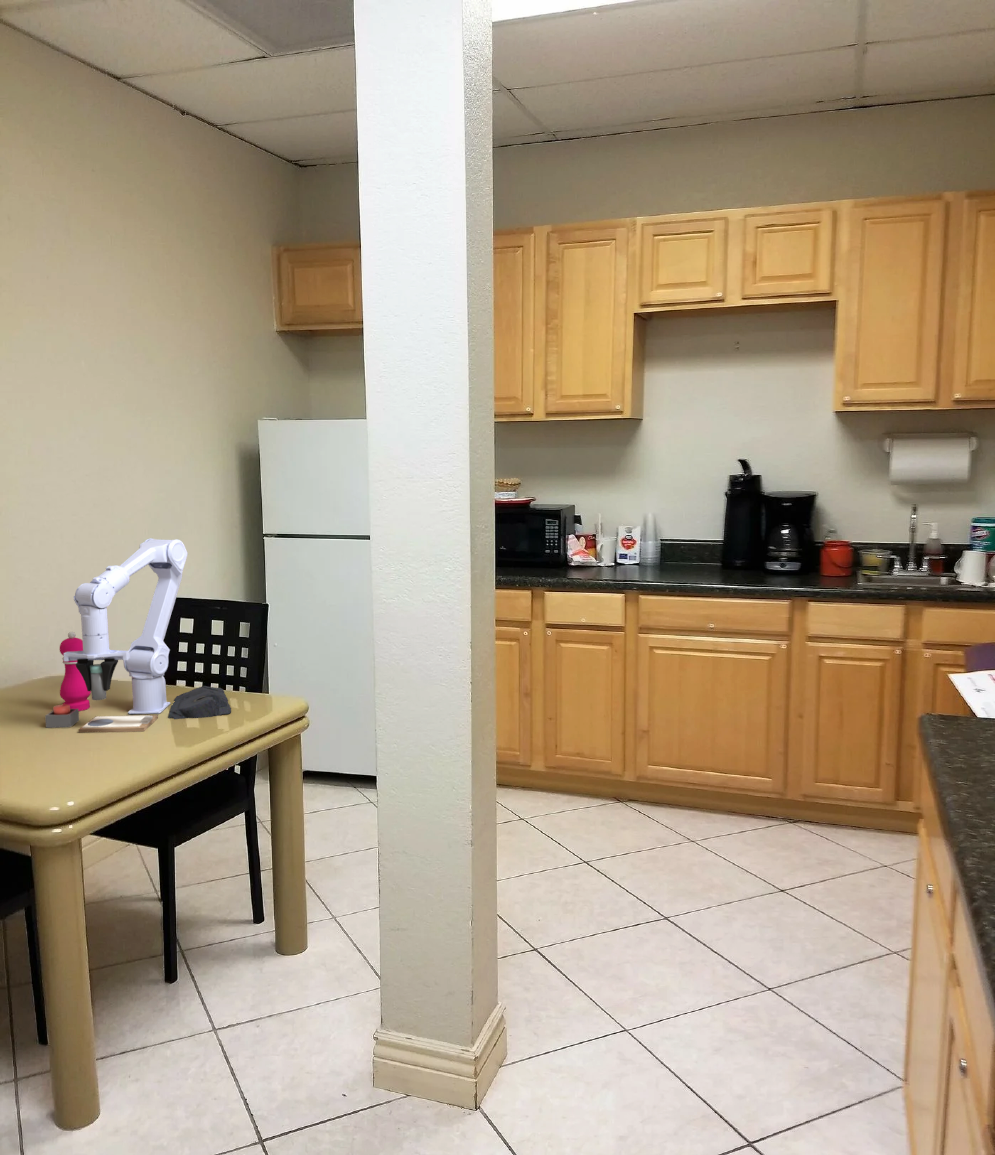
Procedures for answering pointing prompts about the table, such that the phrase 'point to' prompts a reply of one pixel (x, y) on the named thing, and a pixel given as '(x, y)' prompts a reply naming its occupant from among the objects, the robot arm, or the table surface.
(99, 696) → the marker
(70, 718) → the button box
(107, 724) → the clipboard
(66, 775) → the table surface
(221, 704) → the dark slate chunk
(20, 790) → the table surface
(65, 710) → the button
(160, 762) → the table surface
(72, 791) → the table surface
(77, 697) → the pepper mill
